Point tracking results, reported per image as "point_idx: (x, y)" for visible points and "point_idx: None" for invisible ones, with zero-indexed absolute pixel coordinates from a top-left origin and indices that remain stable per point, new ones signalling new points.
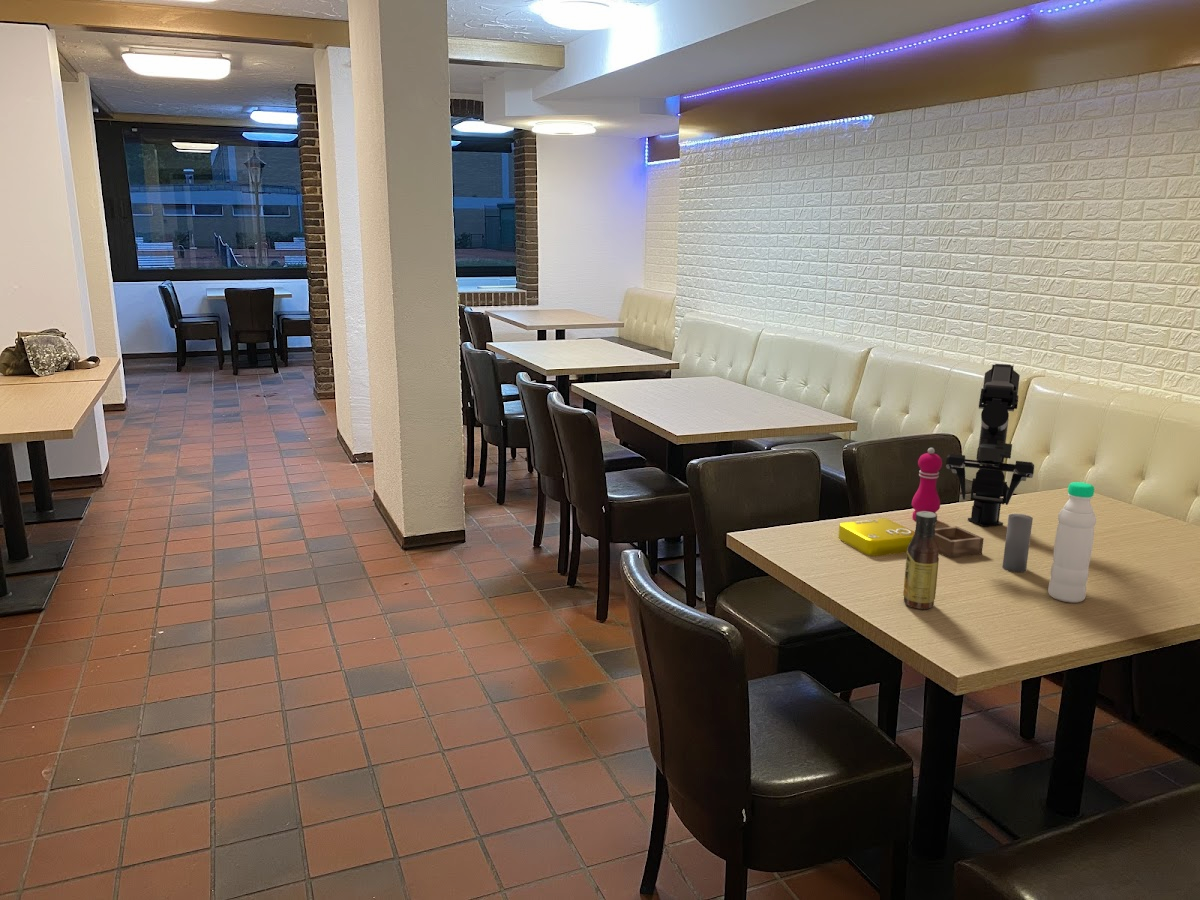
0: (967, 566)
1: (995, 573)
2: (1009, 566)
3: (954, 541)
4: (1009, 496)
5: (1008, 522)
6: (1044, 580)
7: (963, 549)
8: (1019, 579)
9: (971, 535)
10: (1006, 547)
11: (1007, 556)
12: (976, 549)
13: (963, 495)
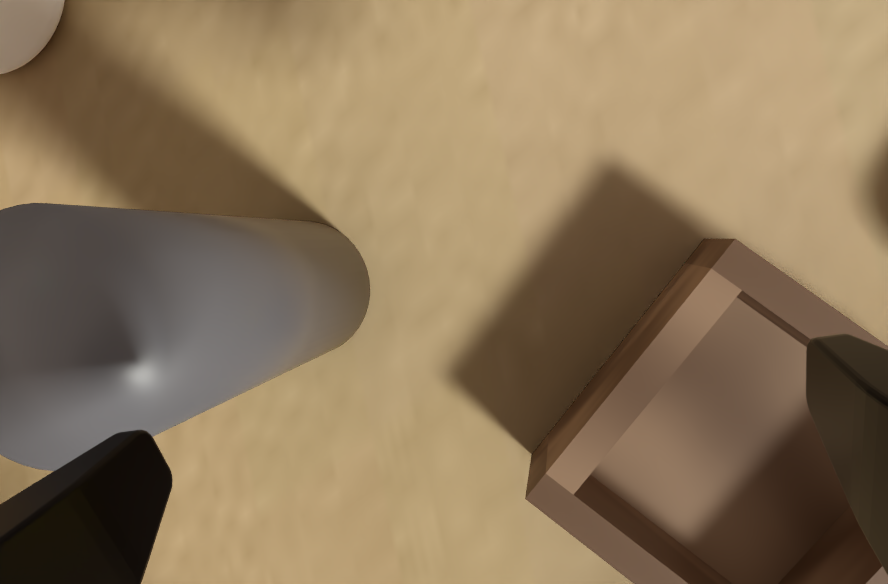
0: (555, 146)
1: (377, 127)
2: (309, 223)
3: (712, 274)
4: (13, 507)
5: (193, 273)
6: (132, 189)
7: (636, 339)
8: (241, 113)
9: (628, 535)
10: (296, 245)
11: (305, 230)
12: (561, 428)
13: (871, 351)
